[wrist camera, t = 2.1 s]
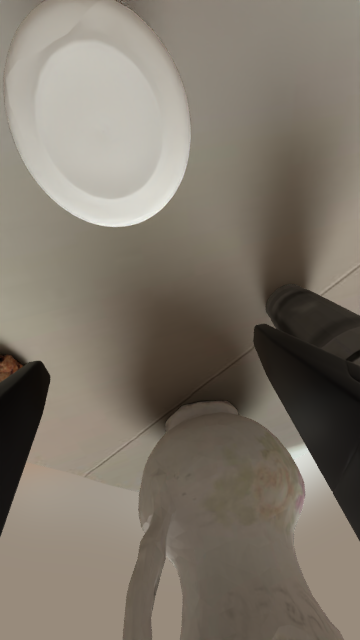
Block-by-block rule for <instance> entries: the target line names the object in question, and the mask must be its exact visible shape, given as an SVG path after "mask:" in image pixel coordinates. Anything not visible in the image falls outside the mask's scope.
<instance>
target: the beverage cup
mask: <svg viewBox="0 0 360 640" xmlns="http://www.w3.org/2000/svg"><path fill="white" fill-rule="evenodd" d="M266 312H267V314H268V316H269V317H270V318H271V321H272V322H273V324H274V326H275V327H276V329H278V330H280V331H283V332H285V333H287V334H289V335H292V336H294V337H296V338H298V339H301V340H303V341H305V342H307V343H310V344H312V345H314V346H316V347H319V348H321V349H323V350H325V351H328V352H330V353H332V354H334V355H337V356H339V357H341V358H343V359H345V360H346V361H350V362H352V363H355V364H357V365H359V366H360V316H359V315H357V314H355V313H353V312H351V311H349V310H347V309H345V308H343V307H341V306H339V305H337V304H335V303H334V302H332V301H330V300H328V299H326V298H324V297H322V296H320V295H318V294H316V293H314V292H312V291H310V290H307V289H304V288H302V287H300V286H298V285H295V284H292V285H285V286H282V287H280V288H279V289H277V290H275V292H274V293H273V294H272V295H271V296H270V297H269V299H268V301H267V304H266Z"/></svg>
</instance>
